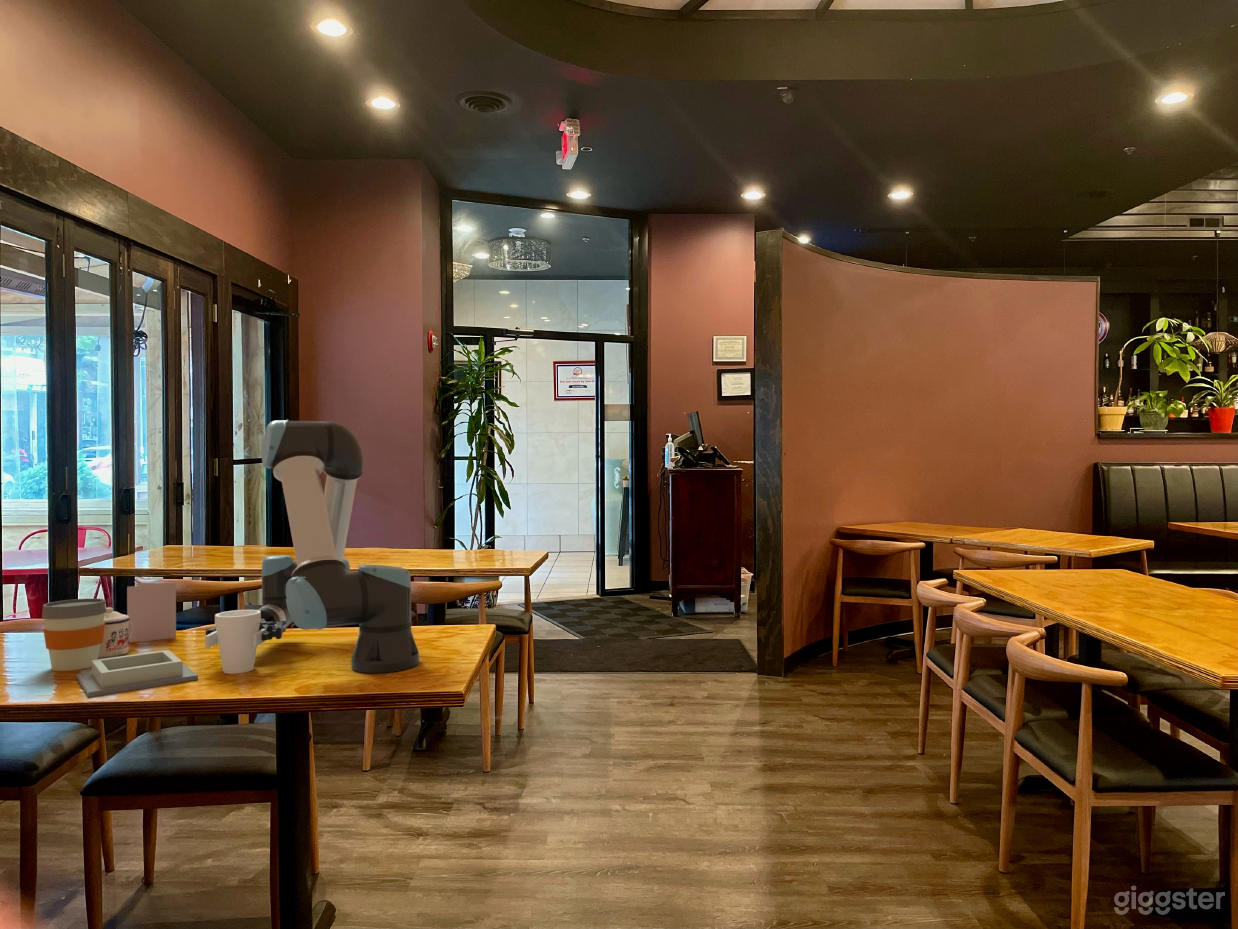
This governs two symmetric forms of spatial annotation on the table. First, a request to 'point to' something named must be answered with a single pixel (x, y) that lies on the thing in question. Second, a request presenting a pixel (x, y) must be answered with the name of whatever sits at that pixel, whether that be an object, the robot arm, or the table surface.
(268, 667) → the table surface
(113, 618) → the teacup with lid
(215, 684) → the table surface
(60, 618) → the reusable coffee cup
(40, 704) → the table surface
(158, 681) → the tray
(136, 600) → the greeting card
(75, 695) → the table surface
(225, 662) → the foam cup
